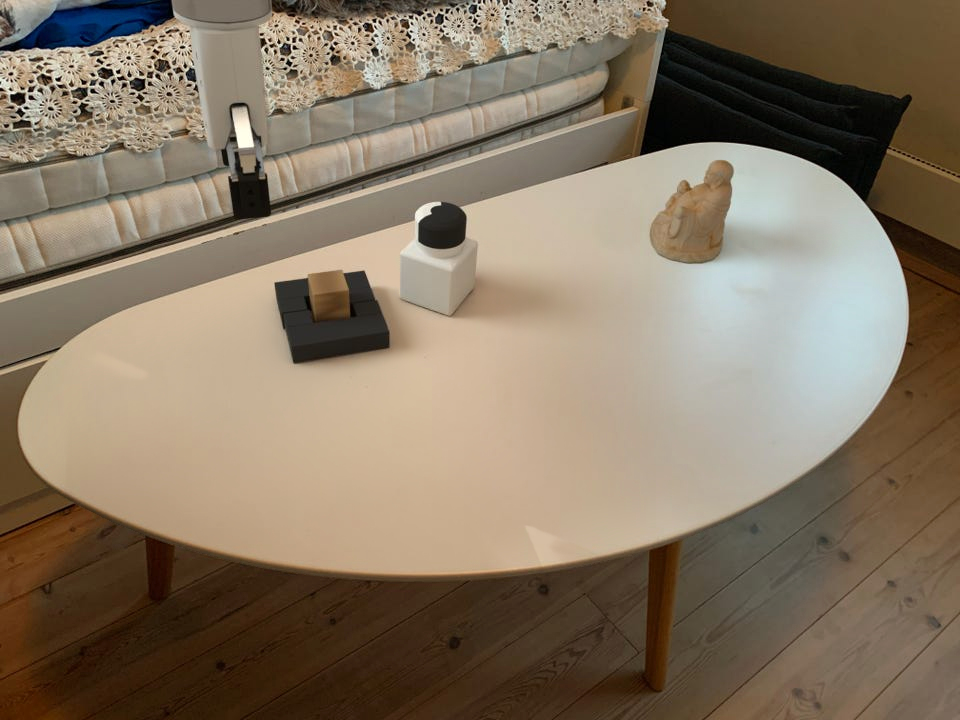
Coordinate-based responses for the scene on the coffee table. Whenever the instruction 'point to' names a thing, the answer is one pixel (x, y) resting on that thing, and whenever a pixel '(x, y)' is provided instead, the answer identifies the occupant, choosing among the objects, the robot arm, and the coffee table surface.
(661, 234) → the statue
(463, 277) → the medicine bottle
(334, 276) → the key
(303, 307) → the pad back
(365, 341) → the pad front
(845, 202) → the coffee table surface
